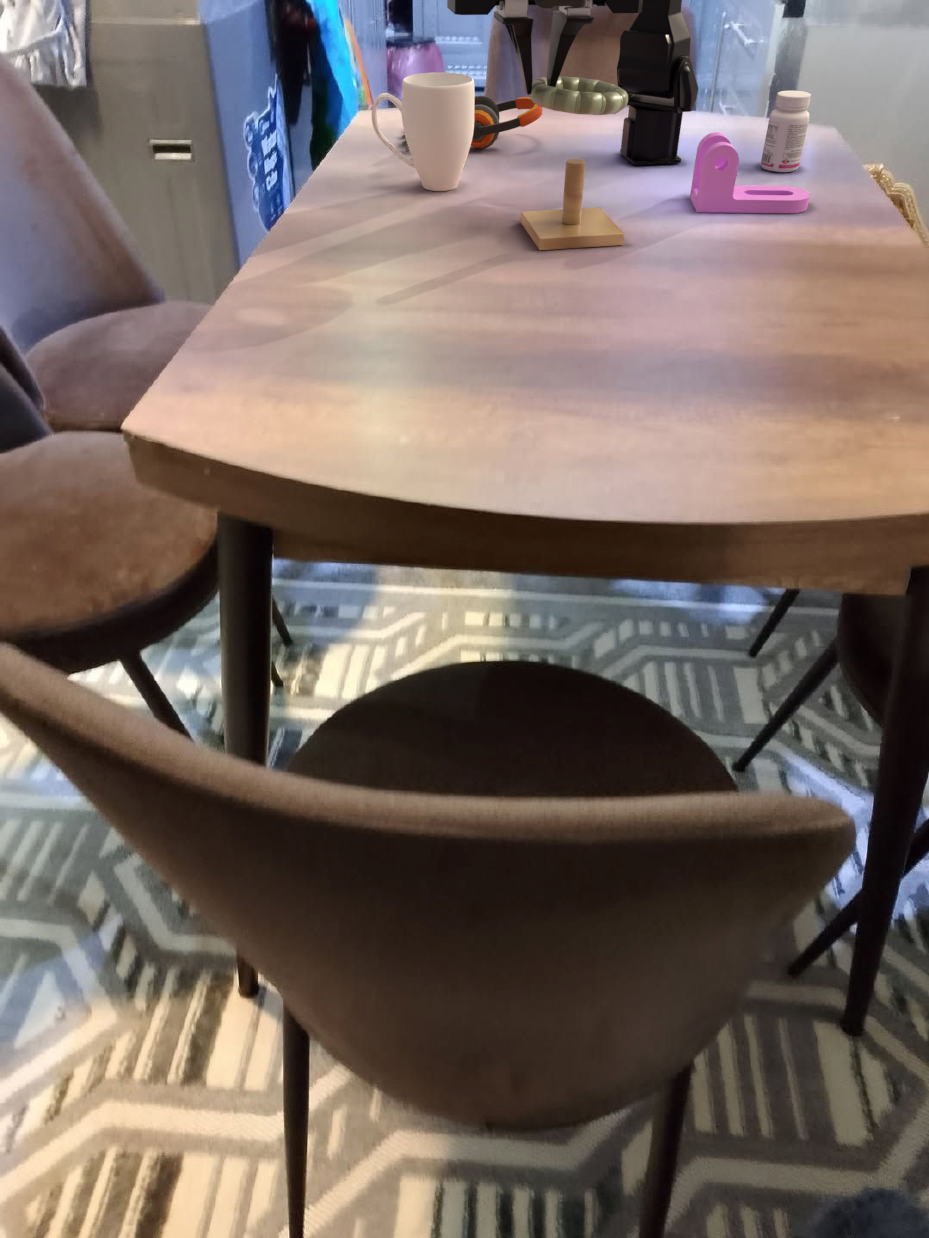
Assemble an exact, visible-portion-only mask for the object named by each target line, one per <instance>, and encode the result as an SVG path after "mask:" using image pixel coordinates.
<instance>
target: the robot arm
mask: <svg viewBox="0 0 929 1238" xmlns="http://www.w3.org/2000/svg"><path fill="white" fill-rule="evenodd" d="M446 1H447V2H446V5H447V9H448V10H449V11H450V12H452V14H454V15H457V16H488V15H489V14H490V13H491V12H492V11H493V10H494V8H496V9H497V10H496V11H493V18H494V19H495V20H496V21H498V22H499V23H500V24H502V25H504V26H505V28H506V31H507V33H508V36H509V39H510V41H511V44H512V47H513V50H514V55H515V58H516V61H517V65H518V68H519V71H520V72H519V73H520V76H521V81H522V84H523V88H524V92H525V94H526V95H527V96H528V95H531V91H532V81H533V50H532V32H533V26H534V18H532V17H531V16H529V15H528V14H529V13H528V12H529V6H538V7H539V8H541V9H553V8H554V7H558V10H553V11H552V19H551V28H550V40H549V50H548V60H547V61H548V62H547V69H546V77H547V85H548V86H552V87H556V84H557V81H558V78H559V76H561V73H562V70H563V67H564V64H565V62H566V59H567V56H568V55H569V51H570V49H571V47H572V45H573V43H574V41H575V39H576V37H577V35H578V34H579V33H580V32H581V30H582V29H583V27H584V26H585V25H591V24H593V23H594V21H595V17H594V16H593V15H591V11H592V9H593V6H596V7H606V8H607V9H608V10H609V12H610V13H611V14H637V15H636V17H635V18H634V20H633V21H632V23H631V25H630V26H629V28H628V29H624V30H623V31H622V34H621V36H620V38H619V55H618V62H617V65H616V79H617V86H619V87H620V88H622V89H623V90H625V91H626V93H627V94H628V103H627V105H626V106H628V113H627V116H626V117H624V119H623V123H622V133H621V134H622V135H621V143H620V144H621V146H620V149H619V154H620V155H622V156H623V157H624V158H625V159H626V160H627V161H628V162H630V164H632V165H634V166H643V165H645V166H646V165H665V164H667V165H668V164H680V163H682V158H681V157H680V156H679V155H678V151H679V150H678V149H679V143H680V135H681V127H682V121H683V116H684V115H683V113H689V112H692V111H693V109H694V108H695V104H696V102H697V96H698V92H699V86H698V82H697V79H696V75H695V72H694V69H693V65H692V64H693V63H692V61H691V58H690V55H691V40H692V39H691V35H690V32H689V30H688V26H687V24H686V22H685V19H684V16H683V14H682V2H683V0H446Z"/></svg>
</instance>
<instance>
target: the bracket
mask: <svg viewBox="0 0 929 1238" xmlns="http://www.w3.org/2000/svg"><path fill="white" fill-rule="evenodd" d="M739 164H740V157H739V154H738V152H737V150H736V149H735V147H734V146H733V145H732V143H731V141H730V140H729V138H728V137H727V136H726V135H725V134H724V133H722V132H717V131H714V132H710V133H708V134H706V135H705V136H703V138H702V139H701V140H700V142H698V145H697V148H696V154H695V160H694V167H693V173H692V179H691V180H692V181H691V185H690V193H689V198H690V201H691V204H692V205H693V208H694V209H695V212H696V213H723V214H724V213H726V214H729V213H733V214H735V213H736V214H798V213H799V214H800V213H803V212H805V211H807V210H808V207H809V204H810V203H809V202H810V198H811V193H810V192H809V191H807V190H805V189H803V188H799V187H795V186H789V185H752V184H751V185H749V184H748V185H745V184H744V185H743V184H739V185H738V184H736V181H737V180H736V179H737V176H738V175H737V174H738V169H739Z"/></svg>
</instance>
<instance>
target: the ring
mask: <svg viewBox="0 0 929 1238" xmlns="http://www.w3.org/2000/svg"><path fill="white" fill-rule="evenodd" d="M527 97H529V98H530V99H531V100H532V101H533V102H534V103H535V104H536V105H538V106H541V107H542V108H545V109H548V110H551V111H554V112H561V113H567V114H571V115H572V114H573V115H583V116H584V115H587V116H607V115H616V114H618V113H619V112H621V111H623V110H624V109H625V108H626V107H627V106H628V105H627V103H628V94H627V93H626V91H625V90H623V89H622V88H620V87H619V86H618V84H613V83H610V82H607V81H603V80H599V79H594V78H593V79H592V78H585V77H579V76H578V77H576V76H562V75H560V76H559V78H558V81H557V84H556V87H552V86H548V85H547V76H541V77H539V78H536V79H534V80H532V91H531V95H527Z"/></svg>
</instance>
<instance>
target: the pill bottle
mask: <svg viewBox="0 0 929 1238" xmlns="http://www.w3.org/2000/svg"><path fill="white" fill-rule="evenodd" d="M811 97H812V94H811V93H810V92H807V91H801V90H782V91H778V92H777V93H776V97H775V103H774V106H775V107H776V108H775V109H773V110H772V111H771V112H770V115H769V118H768V124H767V130H766V134H765V139H764V144H763V149H762V155H761V160H760V167H761V169H763V170H765V171H769V172H776V173H791V172H794V171H797V170H798V169H799V168H800V164H801V159H802V154H803V150H804V146H805V145H804V144H805V140H806V136H807V132H808V126H809V121H810V112H808V110H807V109H809V107H810V102H811Z"/></svg>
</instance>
